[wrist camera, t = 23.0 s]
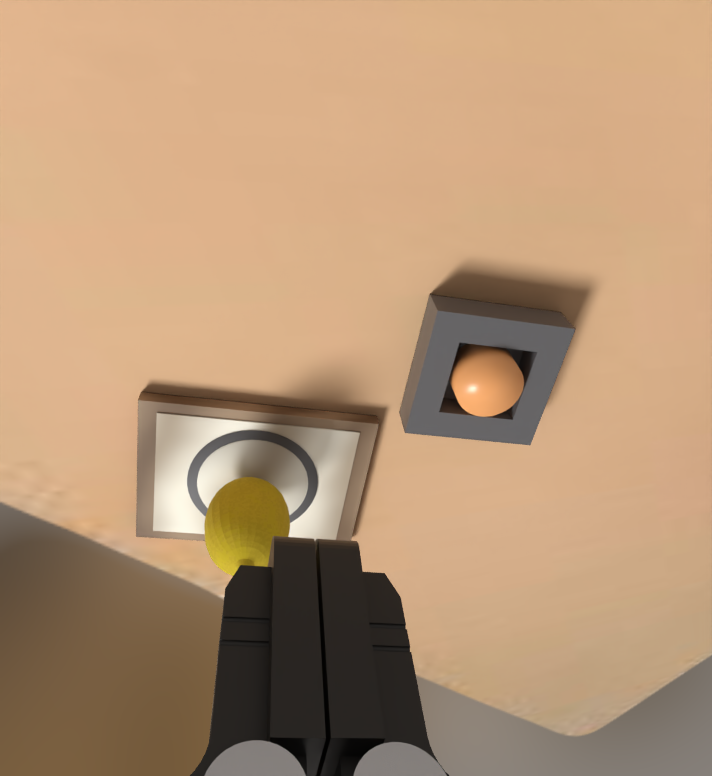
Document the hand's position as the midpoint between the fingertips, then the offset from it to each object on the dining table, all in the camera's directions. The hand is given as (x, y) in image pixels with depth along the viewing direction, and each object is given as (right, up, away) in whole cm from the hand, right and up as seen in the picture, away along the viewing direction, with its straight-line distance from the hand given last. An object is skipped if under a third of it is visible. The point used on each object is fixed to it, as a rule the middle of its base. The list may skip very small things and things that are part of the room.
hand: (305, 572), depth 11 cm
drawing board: (-7, -3, +35) cm, 36 cm away
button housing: (+9, +5, +32) cm, 34 cm away
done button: (+9, +5, +32) cm, 33 cm away
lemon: (-7, -3, +34) cm, 35 cm away
